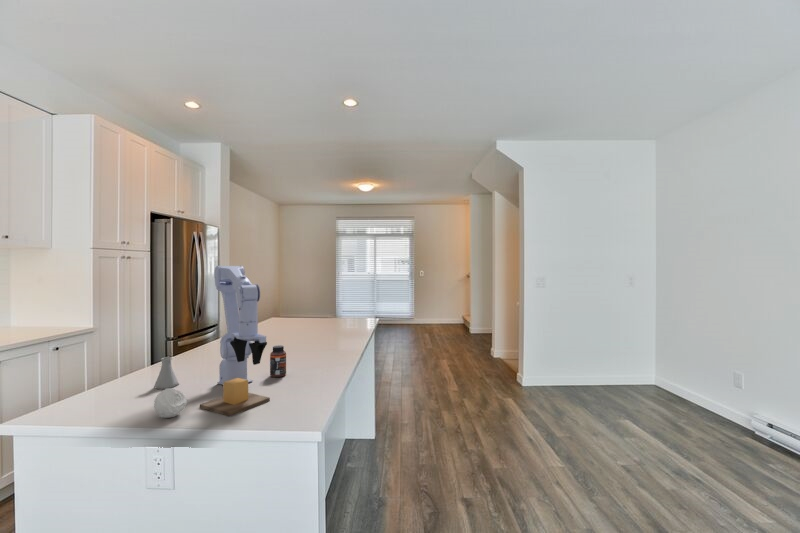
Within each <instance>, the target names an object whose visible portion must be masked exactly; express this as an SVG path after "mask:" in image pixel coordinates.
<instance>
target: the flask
mask: <svg viewBox="0 0 800 533" xmlns="http://www.w3.org/2000/svg"><path fill="white" fill-rule="evenodd" d="M160 360H161V366H160V367H161V368H160V370H159V374H158V376H157V379H156V381H155V383H154V385H153V388H154V389H157V390H165V389H167V388H174V387H176V386H179V385H180V383H179V381H178V379H177V377H176V374H175V372H174V370H173V366H172V360H173V357H169V356H166V357H162V358H160Z"/></svg>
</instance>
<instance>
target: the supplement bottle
mask: <svg viewBox="0 0 800 533" xmlns="http://www.w3.org/2000/svg"><path fill="white" fill-rule="evenodd" d="M284 347H285V346H284V345H281V344H280V345H273V346H272V351H271V352H270V354H269V355H270V356H269V375H270V377H272V378H281V377H284V376H286V375H287V353H286V351H285V350H284Z"/></svg>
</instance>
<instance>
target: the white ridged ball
mask: <svg viewBox="0 0 800 533" xmlns="http://www.w3.org/2000/svg"><path fill="white" fill-rule="evenodd" d="M153 401H154V402H153V408H154V410H155V412H156V414H157V415H158V416H159V417H161V418H166V419H167V418H174V417H177V416H178V415H179V414H181V413H182V412H183V411H184V410H185V409H186V406H187V404H188V398H187V396H186V395H185V394H184V393H183V392H182V391H180V390H178V389H175V388H173V387H171V388H166V389H163V390H161V391H160V392H159V393H158V394H157V395H156V396H155V398H154V400H153Z"/></svg>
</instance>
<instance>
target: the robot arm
mask: <svg viewBox="0 0 800 533" xmlns="http://www.w3.org/2000/svg"><path fill="white" fill-rule="evenodd" d="M213 276H214V277H213V278H214V284H215V285H214V286H215V288H216V289H215V290H217V291H219V292H221V297H222V301H223V309H224V310H223V311H224V316H225V323H226V333H225V334H224V335H223V336H222V337H221V339H220V340H219V341H220V342H219V344H220V348H219V349H220V350H219V351H220V357H221V358H222V359H221V361H220V363H219V370H218V371H219V381H218V382H217V383H216V384H218V385H221V386H222V385H223V382H225V381H229V380H232V379H235V378H241V379H246V380H248V384H249V383H251V382H253V381H254V380H253V379H249V378H248V359H249V357H250V356H251V358H252V364H253V366H255V365H259V364H261V360H262V355H263V353H264V351H265V348H266V347H267V345H268V342H267V336H266V335H262V334H260V333H259V329H258V317H259V316H258V314H259V313H258V311H259V310H258V306H259V305H258V302H259V301H260V298H261V289H260V286H259V284H253V283H252V282H251V281H250V279H249V278H248V277H247V276H246V271H245V267H244V266H243V265H216V266H215V268H214V275H213Z"/></svg>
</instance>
